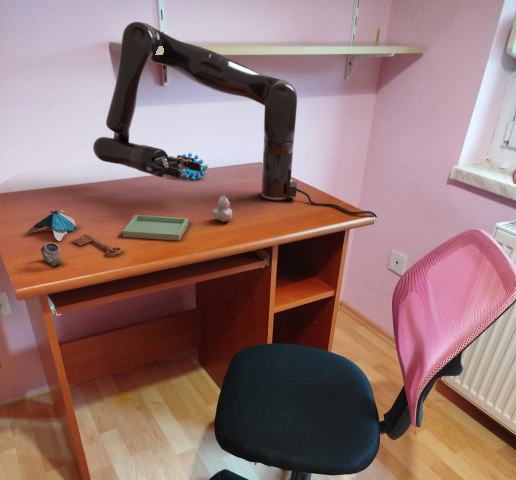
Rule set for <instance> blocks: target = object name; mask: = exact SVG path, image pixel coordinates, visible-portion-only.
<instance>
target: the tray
mask: <svg viewBox="0 0 516 480" xmlns="http://www.w3.org/2000/svg"><path fill="white" fill-rule="evenodd" d="M189 224H190V223H189V218H187V217H175V216H173V217H171V216H157V215H146V214H145V215H143V214H142V215H141V214H135V215H134V216H133V218H131V219H130V221H129V222H128V223H127V225H126V226H124V228H123V229H122V231H121V232H122V237H123V238H137V239H148V240H149V239H151V240H163V241H165V240H166V241H178V242H179V241H181V239H182V236H183V235H184V233H185V231H186V229H187V228H188V226H189Z"/></svg>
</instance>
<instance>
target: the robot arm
mask: <svg viewBox="0 0 516 480" xmlns="http://www.w3.org/2000/svg"><path fill="white" fill-rule="evenodd" d="M159 46H163V48H164V53H163V55H155V54H156V51H157V49H158V47H159ZM148 62H152V63H155V64H159V65H162V66H165V67H168V68H170V69H173V70H175V71H177V72H179V73H180V74H181V75H183V76H185V77H186V78H188V79H189V80H191V81H193V82H195V83H197V84H198V85H200V86H202V87H205V88H208V89H211V90H213V91H216V92H219V93H223V94H226V95H230V96H231V95H232V96H237V97H242V98H246V99H249V100H252V101H254V102H256V103H257V104H260V105H262V106H264V115H263V117H264V118H263V119H264V120H263V148H262V149H263V151H262V174H261V175H262V176H261V193H260V196H261V197H262V198H263V199H265V200H269V201H277V202H279V201H280V202H281V201H290V198H291V197H292V198H295V197H297V192H298V193H300V194H302V195H304V196H306V198H307V199H308V202H309V203H310V204H312V205H314V206H321V207H326V206H327V207H328V206H329V207H335V208H338V209H339V210H341V211H343V212H345V213H348V214H350V215H362V214H363V215H364V214H370V215H372V216H373V217H374V218H378V215H377V214H375V212H373V211H370V210H361V211H360V210H359V211H352V210H349V209H347V208H345V207H344V206H341V205H339V204H337V203H336V204H335V203H326V202H323V203H320V202H315V201H313V200H312V199H311V196H310V195H309V194H308V193H307V192H306V191H303V190H302V189H299V188H298V182H297V181H292V173H293V157H294V143H295V135H296V123H297V121H296V120H297V109H298V94H297V90H296V88H295V86H294V85H293V83H291V82H289V81H288V80H285V79H280V78H277V77H273V76H269V75H266V74H263V73H260V72H258V71H255V70H253V69H251V68H249V67H248V66H246V65H244V64H242V63H240V62H238V61H236V60H234V59H231V58H230V57H228V56H225V55H223V54H221V53H218V52H215V51H213V50H211V49H209V48H205V47H202V46H199V45H195V44H192V43H189V42H183V41H181V40H178V39H177V38H174V37H172V36H170V35H168V34H166V33H164V32H163V31H161V30H159V29H157V28H156V27H154V26H152V25H150V24H149V23H146V22H142V21H132V22H130V23H129V24H127V25H126V27H125V28H124V30H123V32H122V37H121V47H120V56H119V65H118V71H117V77H116V82H115V86H114V90H113V93H112V98H111V101H110V104H109V108H108V113H107V116H106V119H105V125H106V127H107V128H108V129H109V130H110V131H112V132H113V137H109V136H100V137H98V138H97V139H95V141H94V142H93V146H92V150H93V153H94V156H96V158H97V159H98V160H100V161H101V162H106V163H111V164H117V165H122V166H125V167H126V168H131V169H135V170H137V171H139V172H142V173H145V174H149V175H152V176H155V177H159V178H163V177H164V176H165V177H173V178H177V179H179V178H182V176H181V175H182V174H181V171H183V170H185V169H190V170H194V171H198V172H199V171H201V165H202V164H200V163H197V162H194V157H188V156H186V157H185V156H182V155H180V154H178V155H177V156H176V157H175V156H171V155H168V154H167V152H166V150H164V149H162V148H158V147H155V146H150V145H146V144H139V143H135V142H130V129H131V125H132V122H133V118H134V116H135V112H136V108H137V102H138V101H137V100H138V91H139V86H140V81H141V77H142V74H143V72H144V69H145V67H146V65H147V63H148ZM179 165H181V167H180V168H178V167H179ZM199 173H200V172H199Z"/></svg>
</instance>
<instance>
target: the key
mask: <svg viewBox="0 0 516 480" xmlns="http://www.w3.org/2000/svg"><path fill="white" fill-rule="evenodd" d="M72 242H73V243H75V244H76V245H78V246H80V247H81V246H83V245H85V244H88V243H91V242H93V243H95V244H97V246H100V247H102V248H103V249H105V250H106V252H105V254H106V255H107V256H116V255H119V254H121V252H122V251H123V249H122V248H121V247H112V248H111V246H108V245H107V244H105V243H103V242H101V241H99V240H98V239H95V238H94V237H92V236H90V235H88V234H86V233H84V234H83V236H81V237H79V238H76V239H73V240H72ZM114 251H116V252H114Z"/></svg>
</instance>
